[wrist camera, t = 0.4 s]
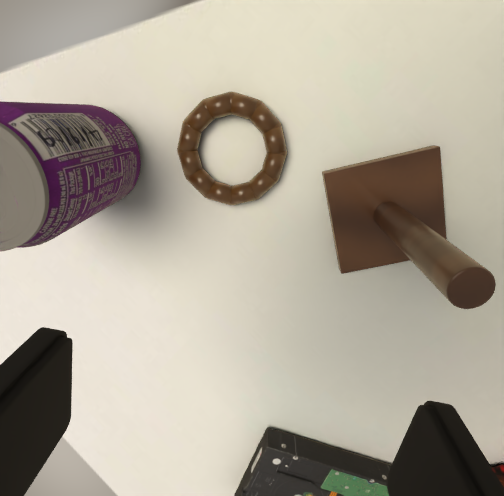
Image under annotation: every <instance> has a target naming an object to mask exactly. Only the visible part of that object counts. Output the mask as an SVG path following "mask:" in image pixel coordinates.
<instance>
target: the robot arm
mask: <svg viewBox="0 0 504 496" xmlns="http://www.w3.org/2000/svg"><path fill="white" fill-rule="evenodd" d="M71 389H72V339H71V338H67V334H66V332H64V331H60V330H55V329H50V328H44V327H43V328H40V329H39V330H37V331H36V332H35V333H34V334H33V335H32V336H31V337H30V338H29V339H28V340H27V341H26V342H24V343H23V344H22V345H21V346H20V347H19V348H18V349H17V350H16V351H15V352H14V353H13V354H12V355H10V356H9V357H8V358H7V359H6V360H5V361H4V362H3V363H2V364H1V365H0V496H24V494H25V493H26V492H27V490H28V488H29V487H30V485H31V484H32V482H33V481H34V479H35V477H36V476H37V474H38V473H39V471H40V470H41V468H42V467H43V465H44V464H45V462H46V461H47V459H48V457H49V456H50V454H51V453H52V451H53V450H54V448H55V447H56V445H57V443H58V442H59V440H60V439H61V437H62V436H63V434H64V433H65V431H66V429H67V427H68V425H69V422H70V418H71ZM387 490H388V493H389V496H504V487H503V485H502V483H501V482H500V480H499V479H498V477H497V475H496V474H495V472H494V471H493V469H492V467H491V466H490V464H489V463H488V461H487V459H486V458H485V456H484V455H483V453H482V451H481V450H480V448H479V447H478V445H477V443H476V442H475V440H474V439H473V437H472V435H471V434H470V432H469V431H468V429H467V427H466V426H465V424H464V422H463V421H462V419H461V418H460V416H459V414H458V413H457V411H456V410H455V408H454V407H453V406H452V405H450V404H445V403H439V402H434V401H427V402H426V403H425V404H424V405H420V406H419V407H418V408H417V410H416V413H415V415H414V417H413V419H412V421H411V424H410V426H409V428H408V430H407V432H406V435H405V437H404V439H403V441H402V444H401V446H400V448H399V450H398V452H397V455H396V457H395V459H394V461H393V463H392V466H391V468H390V470H389V472H388V475H387Z"/></svg>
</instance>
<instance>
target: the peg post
mask: <svg viewBox="0 0 504 496" xmlns="http://www.w3.org/2000/svg"><path fill="white" fill-rule="evenodd" d="M322 175H323V180H324V186H325V191H326V197H327V203H328V208H329V214H330V219H331V225H332V231H333V236H334V242H335V247H336V253H337V259H338V264H339V269H340V271H341V273H348V272H353V271H358V270H363V269H368V268H373V267H378V266H383V265H388V264H393V263H398V262H403V261H408V260H411V261H412V262H413V263H414V264H415V265H416V266H417V267H418V268H419V269H420V270H421V271H422V273H423V274H424V275H425V276H426V277H427V278H428V279H429V280H430V281H431V282H432V283H433V284H434V285H435V286H436V287H437V288H438V290H439V291H440V292H441V293H442V294H443V295H444V296H445V297H446V298H447V299H448V300H449V301H450V302H451V303H452V304H453V305H454V306H456V307H459V308H463V309H471V308H476V307H479V306H481V305H483V304H484V303H486V302H487V301H488V300H489V299H490V298H491V296H492V295H493V293H494V291H495V285H496V284H495V279H494V276H493V275H492V273H491V272H490V271H488V270H487V269H486V268H484V267H483V266H482V265H480V264H479V263H477V262H476V261H475V260H473V259H472V258H471V257H469V256H468V255H466V254H465V253H464V252H462V251H461V250H460V249H458V248H457V247H456V246H454V245H453V244H451V243H450V242H449V241H447V240H446V227H445V213H444V198H443V184H442V169H441V155H440V147H438V146H429V147H425V148H421V149H417V150H412V151H408V152H404V153H400V154H395V155H391V156H387V157H383V158H378V159H374V160H370V161H366V162H361V163H357V164H353V165H349V166H344V167H340V168H336V169H332V170H327V171H323V172H322Z"/></svg>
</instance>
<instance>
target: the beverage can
mask: <svg viewBox="0 0 504 496" xmlns="http://www.w3.org/2000/svg"><path fill="white" fill-rule="evenodd" d="M140 166H141V160H140V152H139V148H138V145H137V142H136V140H135V138H134V136H133V134H132V132H131V131H130V129H129V128H128V127H127V126H126V124H125V123H124V122H123V121H122V120H121V119H119V118H118V117H117V116H116V115H114V114H113V113H111V112H109V111H108V110H106V109H103V108H101V107H97V106H93V105H79V104H51V103H23V102H0V251H6V250H10V249H13V248H16V247H31V246H36V245H40V244H42V243H45V242H47V241H49V240H51V239H53V238H55V237H57V236H58V235H60V234H62V233H64V232H65V231H67V230H69V229H70V228H72V227H74V226H76V225H77V224H79V223H81V222H83V221H84V220H86V219H88V218H89V217H91V216H93V215H95V214H96V213H98V212H100V211H102V210H103V209H105V208H107V207H109V206H110V205H112V204H114V203H115V202H117V201H119V200H121V199H122V198H124V197H125V196H126V195H127V194H128V193H129V192H130V191H131V190H132V189H133V187H134V186H135V184H136V182H137V180H138V177H139V173H140Z"/></svg>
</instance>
